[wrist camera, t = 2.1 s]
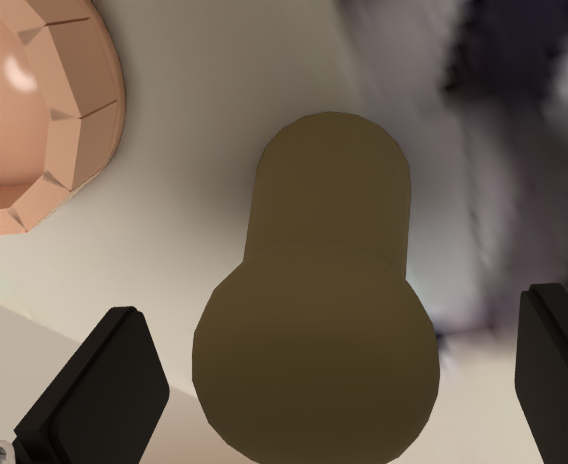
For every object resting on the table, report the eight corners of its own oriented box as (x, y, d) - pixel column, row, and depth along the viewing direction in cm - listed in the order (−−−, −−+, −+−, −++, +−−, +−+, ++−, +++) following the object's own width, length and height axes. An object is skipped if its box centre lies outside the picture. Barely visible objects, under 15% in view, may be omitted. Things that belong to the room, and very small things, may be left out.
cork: (437, 138, 17) (551, 357, 7) (378, 272, 20) (402, 553, 10) (275, 91, 17) (167, 245, 7) (241, 232, 20) (133, 475, 10)
